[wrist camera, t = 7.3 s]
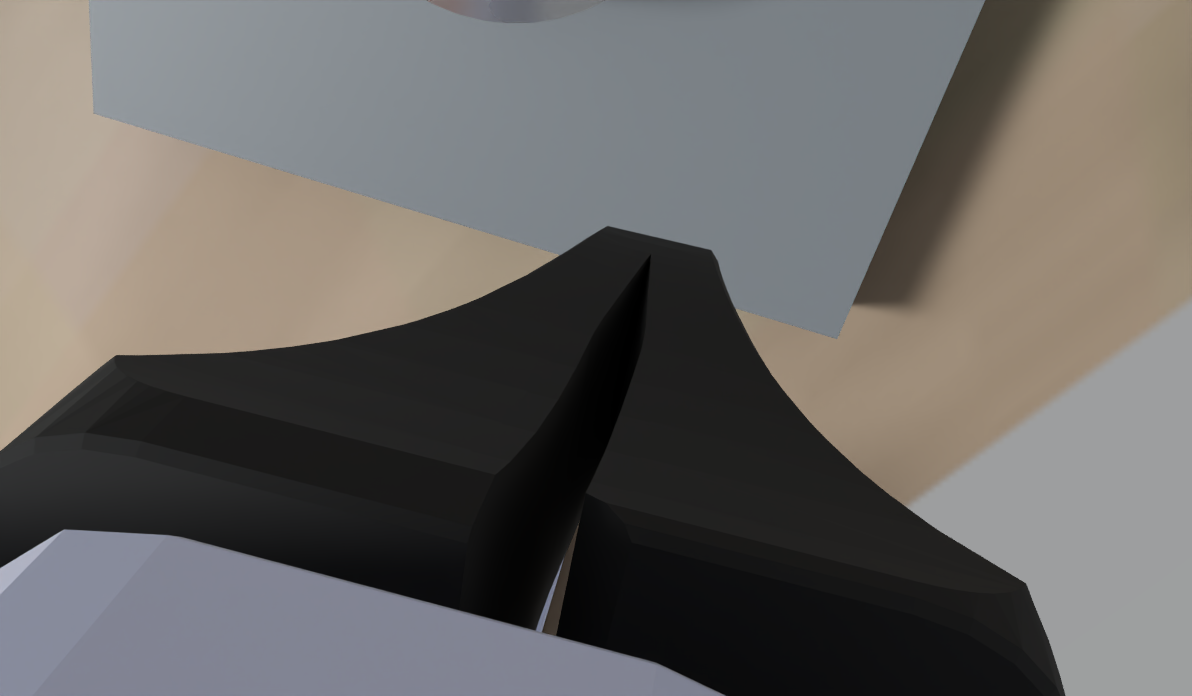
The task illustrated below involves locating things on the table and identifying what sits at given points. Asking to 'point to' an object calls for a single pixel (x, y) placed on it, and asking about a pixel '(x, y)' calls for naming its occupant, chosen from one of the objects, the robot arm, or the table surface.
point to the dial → (516, 9)
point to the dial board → (571, 117)
